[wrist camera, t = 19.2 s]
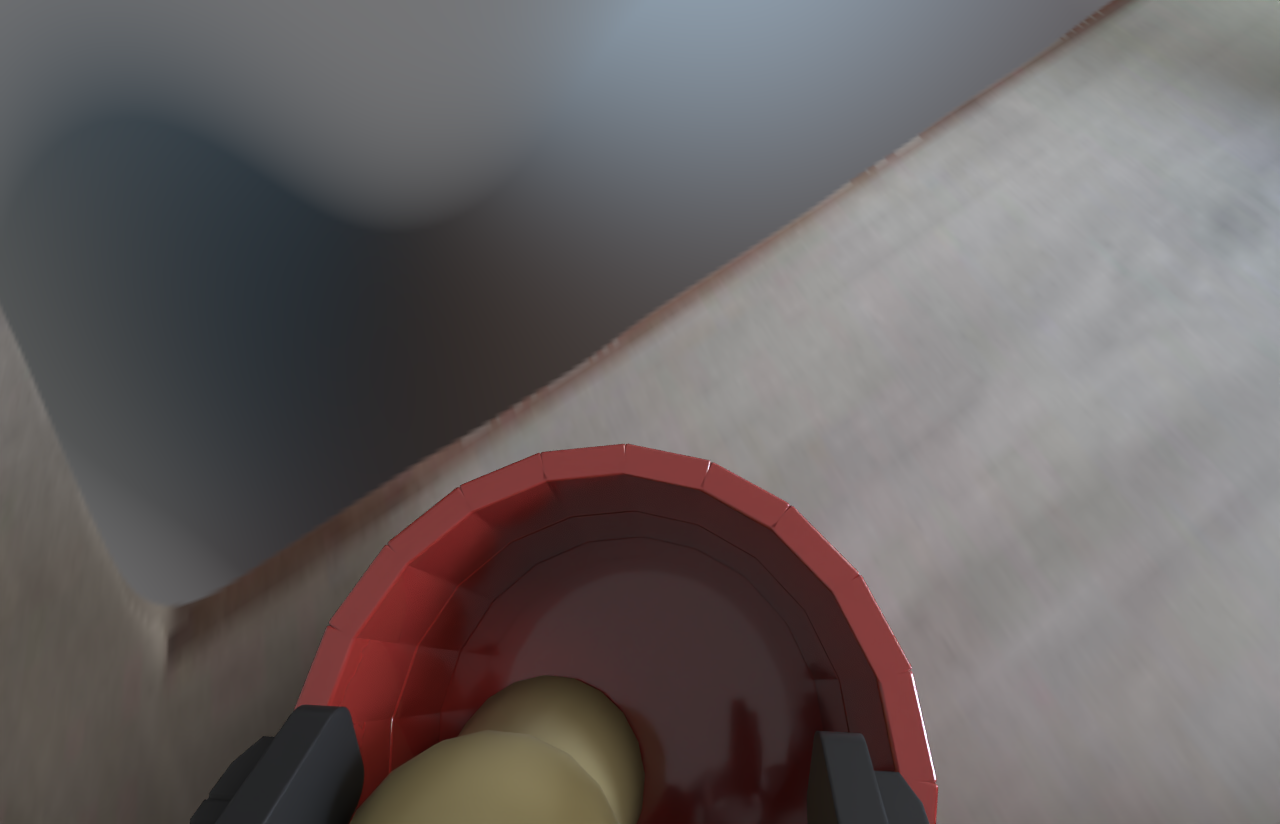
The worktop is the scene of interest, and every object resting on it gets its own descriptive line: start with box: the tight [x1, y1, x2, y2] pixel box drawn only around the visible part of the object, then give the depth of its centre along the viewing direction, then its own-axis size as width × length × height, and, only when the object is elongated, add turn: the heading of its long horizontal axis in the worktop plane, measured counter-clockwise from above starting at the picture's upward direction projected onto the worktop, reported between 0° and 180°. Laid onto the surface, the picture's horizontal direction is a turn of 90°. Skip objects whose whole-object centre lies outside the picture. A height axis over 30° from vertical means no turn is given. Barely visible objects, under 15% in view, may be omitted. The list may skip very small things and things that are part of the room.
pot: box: [294, 444, 938, 824], centre depth 17 cm, size 14×14×8 cm
